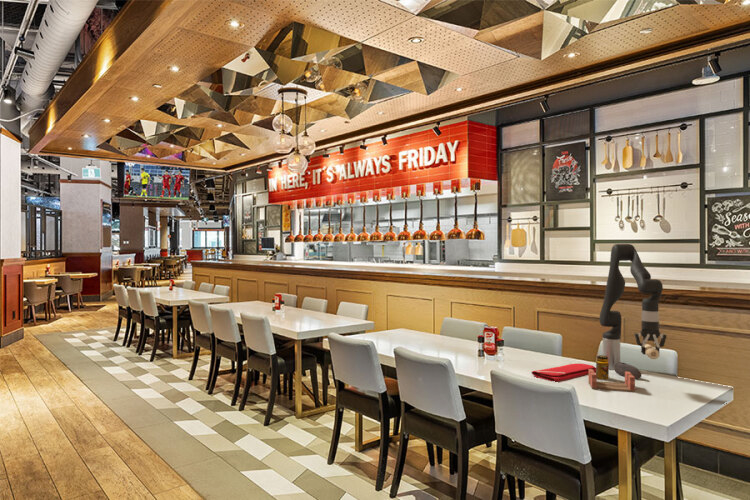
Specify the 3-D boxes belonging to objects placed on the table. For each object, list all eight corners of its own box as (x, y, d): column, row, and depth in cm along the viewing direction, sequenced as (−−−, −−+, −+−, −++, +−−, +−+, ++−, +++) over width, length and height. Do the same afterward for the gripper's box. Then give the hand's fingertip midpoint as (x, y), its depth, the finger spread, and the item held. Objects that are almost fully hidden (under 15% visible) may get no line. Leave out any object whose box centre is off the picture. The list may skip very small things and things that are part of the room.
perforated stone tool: (644, 380, 252) (644, 367, 252) (637, 381, 250) (637, 367, 250) (620, 373, 266) (620, 360, 266) (613, 374, 264) (613, 361, 264)
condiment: (608, 381, 250) (608, 358, 250) (591, 378, 254) (591, 356, 254) (609, 377, 256) (609, 355, 256) (592, 375, 260) (592, 353, 260)
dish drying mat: (600, 372, 270) (600, 365, 270) (555, 383, 247) (555, 376, 247) (575, 366, 283) (575, 360, 283) (530, 376, 260) (530, 370, 260)
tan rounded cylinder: (641, 353, 241) (641, 343, 241) (652, 354, 240) (652, 344, 240) (647, 358, 229) (647, 348, 229) (659, 359, 228) (659, 349, 228)
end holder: (588, 382, 247) (588, 369, 247) (629, 385, 241) (629, 371, 241) (592, 389, 235) (592, 374, 235) (635, 392, 230) (634, 377, 230)
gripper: (664, 319, 236) (664, 353, 236) (632, 318, 240) (632, 352, 240) (669, 321, 229) (669, 357, 229) (635, 320, 233) (635, 355, 233)
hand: (650, 354), depth 234 cm, fingers closed on tan rounded cylinder, 5 cm apart
